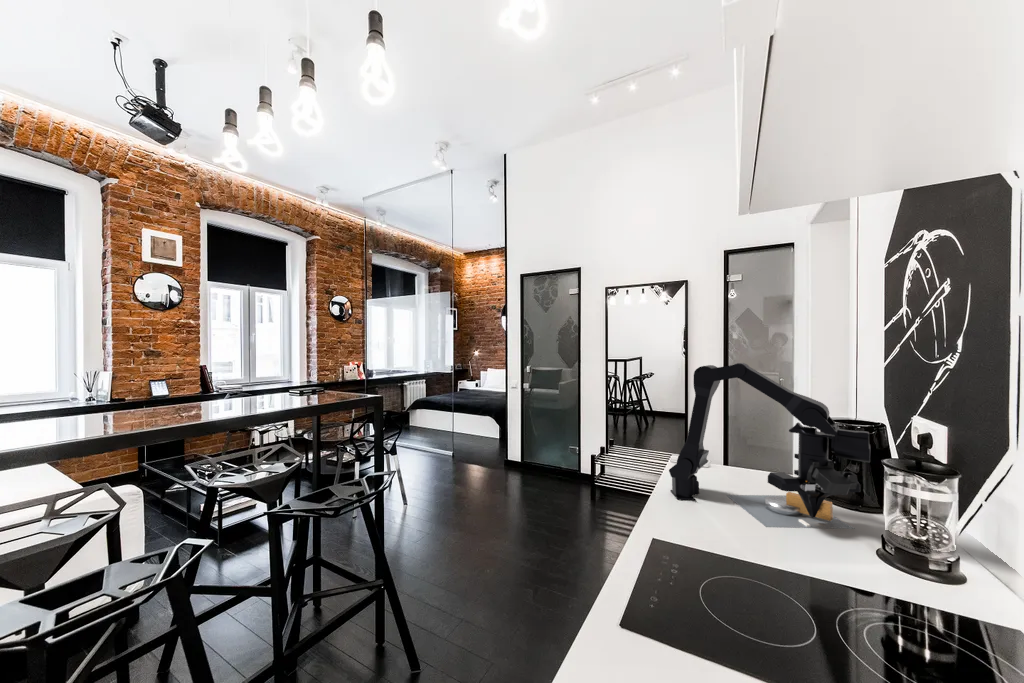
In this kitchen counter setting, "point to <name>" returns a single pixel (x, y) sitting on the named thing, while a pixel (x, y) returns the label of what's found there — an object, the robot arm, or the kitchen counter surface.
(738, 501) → the board
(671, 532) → the kitchen counter surface
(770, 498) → the dial
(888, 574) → the kitchen counter surface
